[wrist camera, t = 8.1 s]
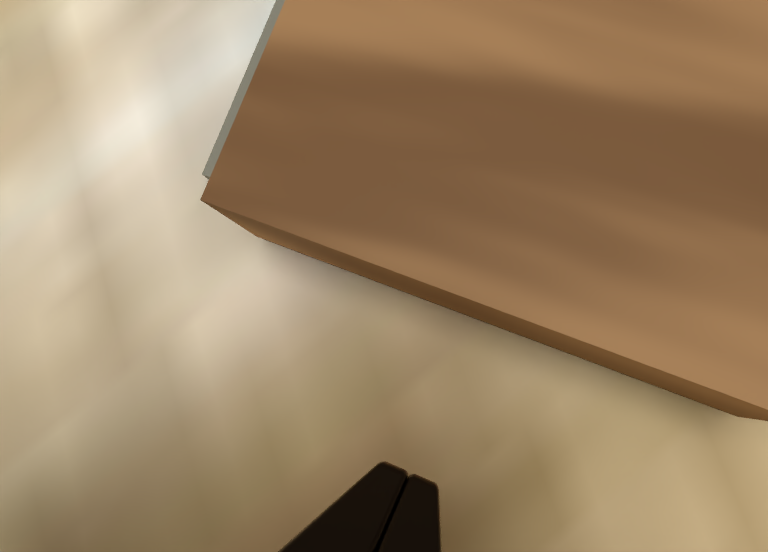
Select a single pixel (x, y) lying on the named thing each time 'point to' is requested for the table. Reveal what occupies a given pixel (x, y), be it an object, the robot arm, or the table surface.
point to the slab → (530, 171)
